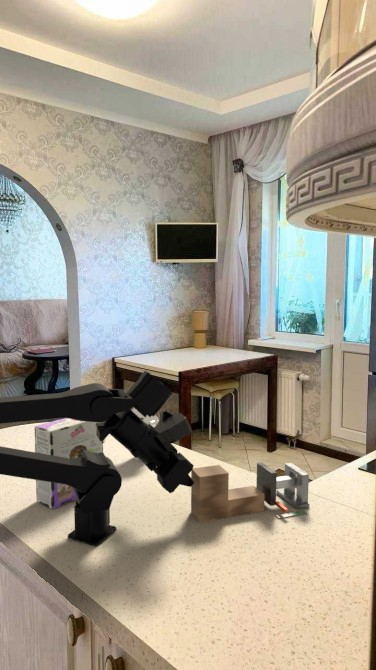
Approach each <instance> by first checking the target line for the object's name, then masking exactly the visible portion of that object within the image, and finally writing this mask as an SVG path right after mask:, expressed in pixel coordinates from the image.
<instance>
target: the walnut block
mask: <svg viewBox="0 0 376 670" xmlns="http://www.w3.org/2000/svg"><path fill="white" fill-rule="evenodd" d="M190 473H191V475H190V477H191V479H192V480H193V481H194V484H193V485H192V486H191V487H190V488H191V489H190V491H191V492H190V494H191V495H190V512H191V514H192V515H193V516H194V518H195V519H196V520H197V521H198V523H203V522H208V521H215V520H220V519H225V518H226V517H227V518H233V517H238V516H243V515H250V514H255V513H260V512H264V511H265V501H264V495H265V494H264V493H262V492H261V491H260V490H259V489H257V488H256V486H255V485H250V486H242V487H236V488H230V489H229V477H230V476H229V475H230V474H229V472H228V471H227V470H226V469H225V468H223V467H222V465H220V464H216V465H209V466H201V467H200V466H199V467H193V469H192V471H191V472H190ZM227 518H226V519H227Z"/></svg>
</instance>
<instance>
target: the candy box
mask: <svg viewBox="0 0 376 670" xmlns="http://www.w3.org/2000/svg"><path fill="white" fill-rule="evenodd" d="M96 423H101V422H88V421H79V420H74V419H69V418H59V419H57V420H52V421H50V422H45V423H42V424H38V425H35V426H34V452H35V453H41V454H47V455H52V456H58V457H64V458H77V457H82V450H88V451H90V452H93V453H101V452H103V453H104V442H103V441H100V440H99V439H98V437H97V435H96V432H97V428H96ZM35 485H36V486H35V488H36V490H35V491H36V494H35V495H36V502H37V503H39V504H41V505H43V506H45V507H46V508H49V509H50V510H53V509H57V508H58V507H61V506H63V505H66V504H68V503H70V502H73V501H75V500H77V497H76V495H75V492H74V489H73V488H72V487H71V486H69V485H65V484H59V483H53V482H46V481H40V480H35Z"/></svg>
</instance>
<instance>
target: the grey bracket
mask: <svg viewBox="0 0 376 670" xmlns="http://www.w3.org/2000/svg"><path fill="white" fill-rule="evenodd" d="M255 487H256V488H257V489H259V490H260V491H261V492H262V493H264V494H265V495H264V503H265V502H266V503H267V505H269V506H270V507H272V506H277V507H278V508H279V510H281V511H282V512H284V514H285V513H289V509H288V507H286V506H284V505H283V504H282V503H281V502H279V501H277V490H281V489H284V488H289V487H295V488H296V487H297V475H296V474H294V475H288V476H285V475H283V476H282V475H281V476H278V475H277V471H275V470H274V469H273V468H271V467H270V466H268V465H266V463H264V462H262V461H260V462H256V486H255Z"/></svg>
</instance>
